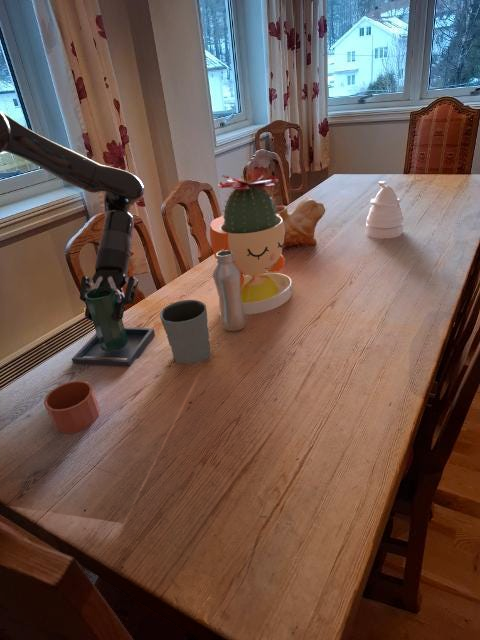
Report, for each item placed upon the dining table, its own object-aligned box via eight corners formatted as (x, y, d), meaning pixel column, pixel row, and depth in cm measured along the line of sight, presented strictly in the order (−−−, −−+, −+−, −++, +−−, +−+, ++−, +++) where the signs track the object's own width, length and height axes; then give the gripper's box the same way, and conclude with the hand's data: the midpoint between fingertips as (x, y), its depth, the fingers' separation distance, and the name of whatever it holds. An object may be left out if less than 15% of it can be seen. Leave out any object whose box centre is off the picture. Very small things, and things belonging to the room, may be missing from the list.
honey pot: (359, 235, 157) (361, 185, 148) (375, 225, 165) (377, 177, 156) (393, 240, 149) (397, 187, 140) (408, 229, 157) (412, 179, 149)
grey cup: (221, 349, 100) (215, 304, 94) (195, 373, 93) (186, 325, 87) (188, 340, 105) (180, 296, 100) (160, 361, 98) (150, 316, 92)
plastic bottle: (247, 332, 105) (239, 256, 96) (220, 335, 106) (209, 259, 96) (247, 320, 111) (238, 246, 101) (221, 322, 111) (210, 249, 102)
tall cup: (96, 351, 102) (79, 299, 95) (109, 336, 108) (94, 286, 101) (120, 352, 101) (104, 299, 94) (132, 337, 106) (118, 286, 99)
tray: (73, 365, 101) (71, 358, 100) (104, 333, 113) (102, 326, 112) (130, 369, 97) (128, 361, 96) (155, 335, 109) (153, 328, 108)
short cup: (44, 433, 81) (34, 409, 78) (70, 402, 89) (61, 379, 86) (85, 437, 79) (76, 412, 76) (108, 405, 87) (100, 382, 84)
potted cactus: (306, 292, 121) (302, 163, 104) (246, 322, 110) (231, 183, 93) (256, 273, 137) (245, 158, 119) (199, 298, 125) (178, 175, 108)
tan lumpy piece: (332, 242, 154) (332, 200, 146) (262, 255, 150) (258, 213, 142) (317, 231, 166) (316, 192, 158) (252, 243, 162) (248, 203, 154)
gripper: (78, 247, 101) (66, 315, 97) (134, 246, 98) (123, 316, 94) (96, 259, 108) (84, 323, 104) (148, 258, 105) (138, 325, 101)
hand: (103, 319), depth 99 cm, fingers closed on tall cup, 6 cm apart
